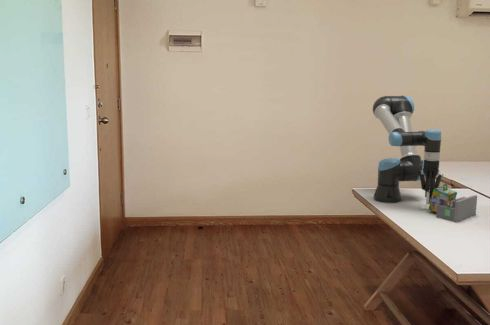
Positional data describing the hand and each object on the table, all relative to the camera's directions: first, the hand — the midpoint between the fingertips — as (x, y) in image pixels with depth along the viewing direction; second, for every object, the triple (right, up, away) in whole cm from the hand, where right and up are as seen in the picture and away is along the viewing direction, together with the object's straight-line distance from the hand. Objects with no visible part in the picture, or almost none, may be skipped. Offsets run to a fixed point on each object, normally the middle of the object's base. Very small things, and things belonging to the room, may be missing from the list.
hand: (428, 203), depth 242 cm
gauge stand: (+9, -5, -11) cm, 16 cm away
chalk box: (+4, -4, -5) cm, 7 cm away
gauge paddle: (+9, -4, -12) cm, 16 cm away
